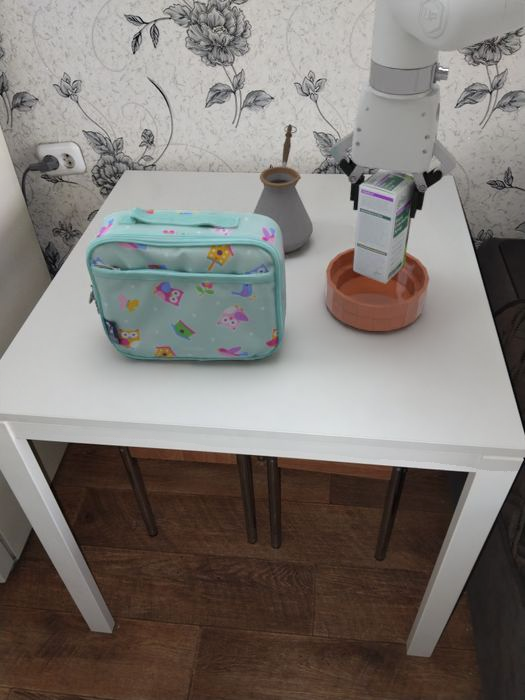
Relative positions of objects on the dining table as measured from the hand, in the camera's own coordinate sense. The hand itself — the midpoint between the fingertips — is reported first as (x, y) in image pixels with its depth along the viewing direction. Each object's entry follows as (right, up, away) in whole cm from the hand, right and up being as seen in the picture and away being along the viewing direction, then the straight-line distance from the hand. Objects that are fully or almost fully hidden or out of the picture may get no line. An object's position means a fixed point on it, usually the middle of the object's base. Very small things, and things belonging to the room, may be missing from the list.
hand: (385, 208), depth 81 cm
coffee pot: (-13, +3, +28) cm, 31 cm away
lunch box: (-27, -18, +7) cm, 33 cm away
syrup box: (0, -7, +7) cm, 10 cm away
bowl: (+1, -12, +12) cm, 17 cm away
